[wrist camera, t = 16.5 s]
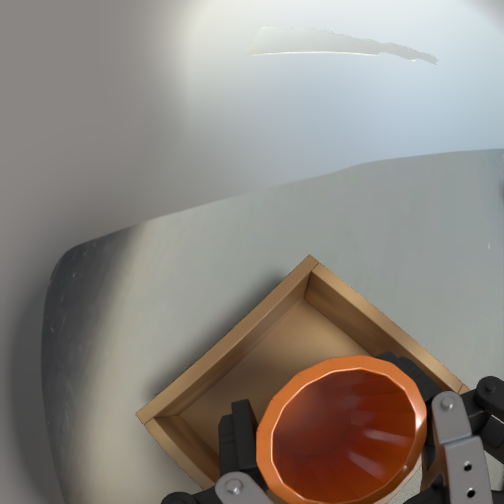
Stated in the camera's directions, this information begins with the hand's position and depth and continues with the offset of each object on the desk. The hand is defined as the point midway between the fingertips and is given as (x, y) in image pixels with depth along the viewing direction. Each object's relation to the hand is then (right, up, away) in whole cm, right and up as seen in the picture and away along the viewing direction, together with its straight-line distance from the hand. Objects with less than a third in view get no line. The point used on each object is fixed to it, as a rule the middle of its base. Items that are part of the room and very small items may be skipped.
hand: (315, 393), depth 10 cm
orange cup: (+1, -4, +4) cm, 6 cm away
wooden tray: (+1, -5, +5) cm, 7 cm away
